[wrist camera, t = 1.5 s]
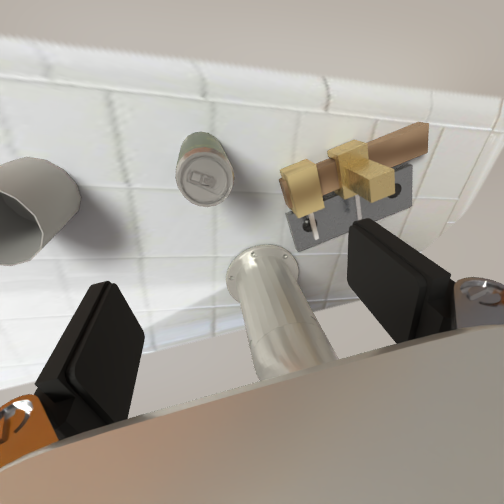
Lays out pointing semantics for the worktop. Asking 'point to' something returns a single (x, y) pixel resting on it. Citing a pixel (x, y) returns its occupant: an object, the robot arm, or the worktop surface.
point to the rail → (325, 173)
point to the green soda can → (204, 170)
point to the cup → (33, 207)
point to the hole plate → (349, 212)
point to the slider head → (361, 175)
